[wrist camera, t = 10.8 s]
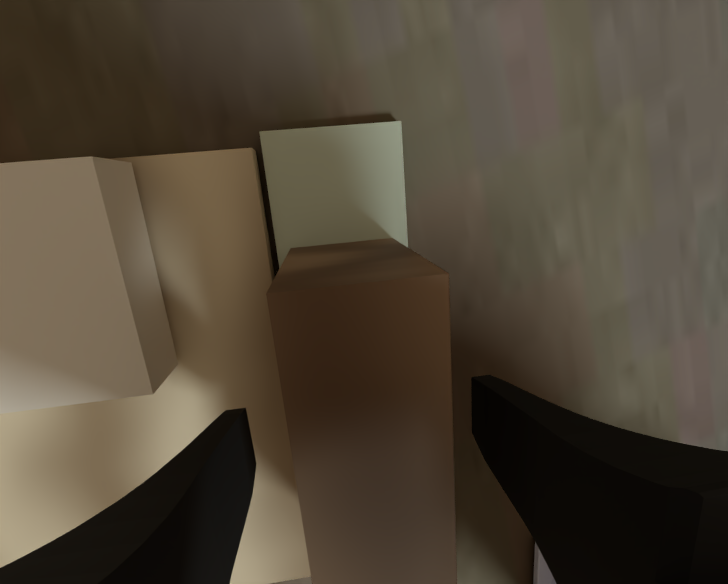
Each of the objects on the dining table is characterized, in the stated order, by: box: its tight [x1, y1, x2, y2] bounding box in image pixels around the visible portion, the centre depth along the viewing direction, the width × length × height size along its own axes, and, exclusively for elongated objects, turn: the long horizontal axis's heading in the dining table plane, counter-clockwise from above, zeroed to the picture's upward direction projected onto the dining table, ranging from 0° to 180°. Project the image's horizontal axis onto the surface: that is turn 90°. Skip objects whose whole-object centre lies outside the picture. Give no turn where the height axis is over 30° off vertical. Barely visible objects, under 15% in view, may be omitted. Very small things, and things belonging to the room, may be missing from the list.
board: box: [0, 148, 311, 584], centre depth 14 cm, size 12×17×1 cm
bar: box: [266, 238, 457, 584], centre depth 12 cm, size 4×11×6 cm, turn 5°
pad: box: [259, 121, 408, 269], centre depth 14 cm, size 4×14×1 cm, turn 5°
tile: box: [0, 156, 178, 414], centre depth 11 cm, size 6×2×6 cm
